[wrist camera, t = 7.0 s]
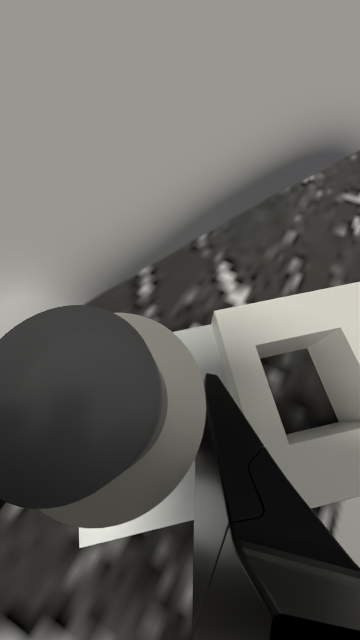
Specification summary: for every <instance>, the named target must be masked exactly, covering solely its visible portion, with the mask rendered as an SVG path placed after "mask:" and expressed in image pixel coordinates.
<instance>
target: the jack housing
mask: <svg viewBox="0 0 360 640" xmlns="http://www.w3.org/2000/svg"><path fill="white" fill-rule="evenodd" d="M173 333H174V334H175V335H176V336H177V337H178V338H179V339H180V340H181V341H182V342H183V343H184V344H185V346H186V347H187V348H188V350H189V351H190V353H191V354H192V356H193V357H194V359H195V361H196V364H197V366H198V368H199V370H200V374H201V377H202V380H203V384H204V379H205V375H206V373H210V374H215V375H218V377H219V378H220V380H221V381H222V383H223V384H224V386H225V387H226V389H227V390H228V392H229V393H230V395H231V396H232V398H233V399H234V401H235V402H236V404H237V405H238V407H239V408H240V410H241V411H242V413H243V414H244V416H245V417H246V419H247V420H248V422H249V423H250V425H251V426H252V428H253V429H254V431H255V432H256V434H257V435H258V437H259V438H260V440H261V441H262V443H263V444H264V447H266V449H267V450H268V452H269V453H270V455H271V456H272V458H273V459H274V461H275V462H276V463H277V465H278V466H279V468H280V469H281V471H282V472H283V473H284V475H285V476H286V478H287V479H288V480H289V481H290V483H291V484H292V485H293V487H294V488H295V489H296V490H297V492H298V493H299V494H300V496H301V497H302V498H303V499H304V501H305V502H306V503H307V504H308V506H309V507H310V508H315V507H319V506H323V505H327V504H331V503H335V502H339V501H343V500H347V499H351V498H355V497H358V496H360V282H357V283H352V284H347V285H342V286H337V287H332V288H327V289H322V290H317V291H312V292H307V293H302V294H297V295H292V296H287V297H282V298H277V299H272V300H267V301H262V302H257V303H252V304H247V305H242V306H237V307H232V308H227V309H222V310H217V311H214V314H213V318H212V322H211V325H206V326H201V327H196V328H191V329H186V330H181V331H176V332H173ZM302 349H308V351H309V354H310V356H311V358H312V361H313V363H314V365H315V368H316V370H317V372H318V375H319V377H320V379H321V382H322V384H323V386H324V389H325V391H326V393H327V395H328V398H329V400H330V402H331V405H332V407H333V409H334V412H335V414H336V416H337V419H338V421H339V422H337V423H333V424H329V425H324V426H320V427H316V428H312V429H307V430H303V431H299V432H294V433H290V434H285V431H284V428H283V425H282V422H281V419H280V416H279V413H278V410H277V407H276V404H275V401H274V399H273V396H272V393H271V390H270V387H269V384H268V381H267V378H266V375H265V372H264V369H263V367H262V364H261V361H260V358H265V357H269V356H274V355H279V354H283V353H288V352H293V351H297V350H302ZM194 492H195V458H194V461H193V463H192V465H191V467H190V468H189V470H188V472H187V473H186V475H185V476H184V478H183V479H182V481H181V482H180V483H179V484H178V486H177V487H176V488H175V489H174V491H173V492H172V493H171V494H170V495H169V496H168V497H166V498H165V499H164V500H163V501H162V502H161V503H160V504H159V505H157V506H156V507H154V508H153V509H152V510H150V511H149V512H147V513H146V514H144V515H142V516H140V517H138V518H136V519H134V520H132V521H129V522H126V523H123V524H120V525H117V526H112V527H106V528H80V527H79V544H80V548H82V547H86V546H90V545H94V544H98V543H102V542H106V541H110V540H114V539H118V538H122V537H126V536H130V535H134V534H138V533H142V532H146V531H150V530H154V529H158V528H162V527H167V526H171V525H175V524H179V523H183V522H187V521H191V520H194Z"/></svg>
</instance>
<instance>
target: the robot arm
mask: <svg viewBox="0 0 360 640" xmlns="http://www.w3.org/2000/svg"><path fill="white" fill-rule="evenodd" d="M204 389H205V397H206V419H205V426H204V431H203V437H202V440H201V443H200V446H199V449H198V452H197V454H196V456H195V492H194V553H193V615H192V636H193V638H192V640H360V568H359V567H358V565H357V564H356V563H355V562H354V561H353V560H352V559H351V558H350V556H349V555H348V554H347V553H346V552H345V550H343V548H342V547H341V545H340V544H339V543H338V542H337V540H336V539H335V538H334V537H333V535H332V534H331V533H330V532H329V531H328V529H327V528H326V527H325V526H324V524H323V523H322V522H321V521H320V519H319V518H318V517H317V516H316V514H315V513H314V512H313V511H312V509H311V508H310V507H309V506H308V504H307V503H306V502H305V501H304V499H303V498H302V497H301V496H300V494H299V493H298V492H297V490H296V489H295V488H294V487H293V485H292V484H291V483H290V481H289V480H288V479H287V478H286V476H285V475H284V473H283V472H282V471H281V469H280V468H279V466H278V465H277V463H276V462H275V461H274V459H273V458H272V456H271V455H270V453H269V452H268V450H267V449H266V447H264V444H263V443H262V441H261V440H260V438H259V437H258V435H257V434H256V432H255V431H254V429H253V428H252V426H251V425H250V423H249V422H248V420H247V419H246V417H245V416H244V414H243V413H242V411H241V410H240V408H239V407H238V405H237V404H236V402H235V401H234V399H233V398H232V396H231V395H230V393H229V392H228V390H227V389H226V387H225V386H224V384H223V383H222V381H221V380H220V378H219V377H218V375H215V374H210V373H206V375H205V379H204ZM5 503H6V502H5V501H3V500H1V499H0V510H1V508H2V507H3V505H4V504H5Z"/></svg>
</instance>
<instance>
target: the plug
mask: <svg viewBox="0 0 360 640" xmlns="http://www.w3.org/2000/svg"><path fill="white" fill-rule="evenodd" d="M205 419H206V397H205V389H204V384H203V380H202V377H201V374H200V370H199V368H198V366H197V364H196V361H195V359H194V357H193V356H192V354H191V353H190V351H189V350H188V348H187V347H186V346H185V344H184V343H183V342H182V341H181V340H180V339H179V338H178V337H177V336H176V335H175V334H174V333H173V332H172V331H170V330H169V329H167V328H166V327H165V326H163V325H162V324H160V323H158V322H156V321H154V320H151V319H149V318H146V317H143V316H139V315H134V314H128V313H112V312H110V311H108V310H105V309H102V308H98V307H93V306H84V305H70V306H63V307H58V308H54V309H50V310H47V311H44V312H41V313H39V314H36V315H34V316H32V317H30V318H28V319H26V320H25V321H23V322H22V323H20V324H18V325H17V326H15V327H14V328H13V329H11V330H10V331H9V332H8V333H6V334H5V335H4V336H3V337H2V338H1V339H0V499H1V500H3V501H5V502H7V503H10V504H13V505H16V506H19V507H25V508H32V509H38V510H40V511H41V512H42V513H44V514H45V515H47V516H48V517H50V518H52V519H54V520H56V521H58V522H61V523H64V524H67V525H70V526H74V527H80V528H106V527H112V526H117V525H120V524H123V523H126V522H129V521H132V520H134V519H136V518H138V517H140V516H142V515H144V514H146V513H147V512H149V511H150V510H152V509H153V508H154V507H156V506H157V505H159V504H160V503H161V502H162V501H163V500H164V499H165V498H166V497H168V496H169V495H170V494H171V493H172V492H173V491H174V489H175V488H176V487H177V486H178V484H179V483H180V482H181V481H182V479H183V478H184V476H185V475H186V473H187V472H188V470H189V468H190V467H191V465H192V463H193V461H194V458H195V456H196V454H197V452H198V449H199V446H200V443H201V440H202V437H203V431H204V426H205Z"/></svg>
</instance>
